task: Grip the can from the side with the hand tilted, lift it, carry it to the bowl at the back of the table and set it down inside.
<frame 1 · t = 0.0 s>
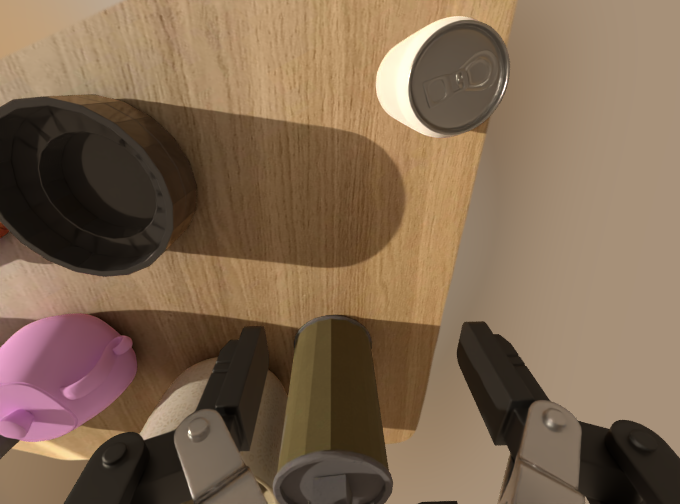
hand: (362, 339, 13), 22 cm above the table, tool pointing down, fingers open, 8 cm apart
teapot: (83, 346, 42), on the table
planter: (237, 381, 46), on the table
can: (410, 82, 28), on the table
bowl: (120, 179, 32), on the table
canister: (333, 344, 43), on the table
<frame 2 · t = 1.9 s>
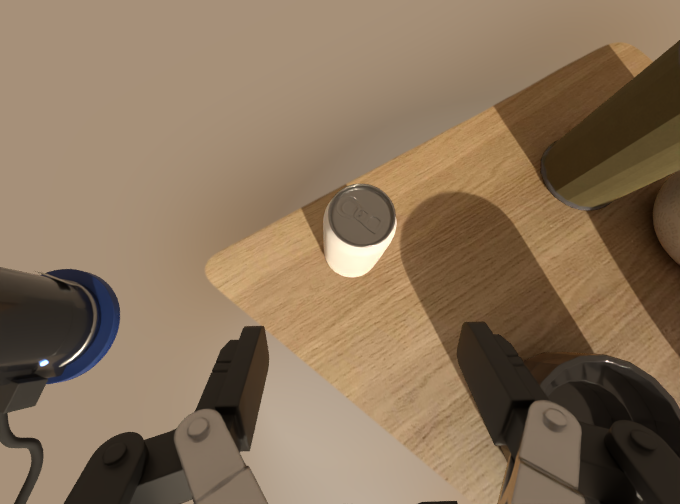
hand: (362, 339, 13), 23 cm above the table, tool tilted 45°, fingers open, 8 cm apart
can: (350, 251, 38), on the table
bowl: (563, 426, 34), on the table
canister: (578, 173, 42), on the table
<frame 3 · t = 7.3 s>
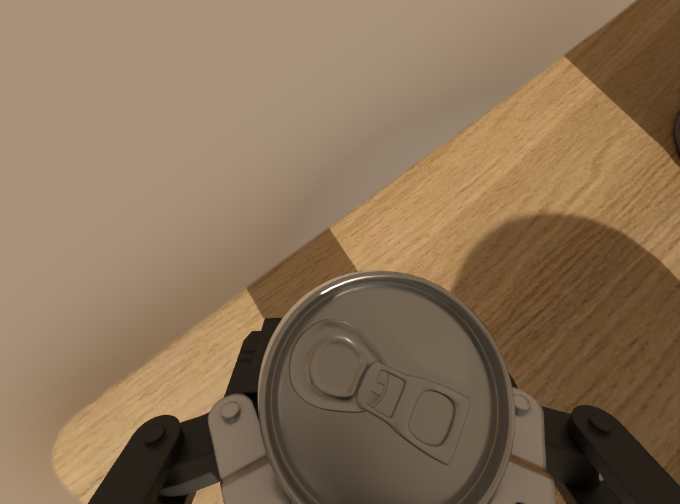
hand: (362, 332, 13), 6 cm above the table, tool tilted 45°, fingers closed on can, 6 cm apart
can: (355, 366, 19), on the table, touching gripper
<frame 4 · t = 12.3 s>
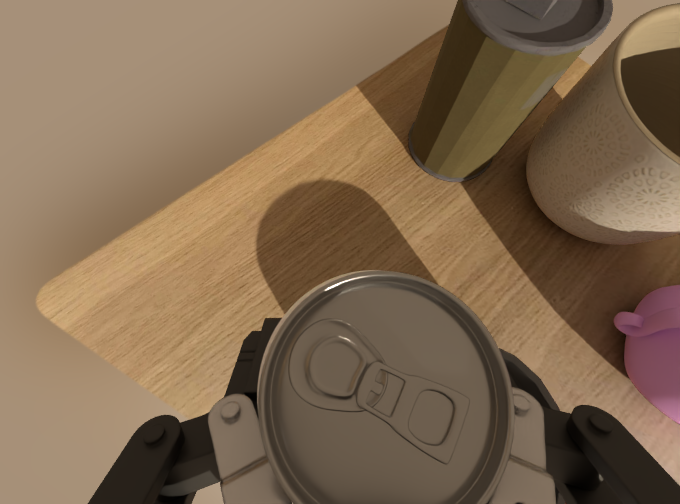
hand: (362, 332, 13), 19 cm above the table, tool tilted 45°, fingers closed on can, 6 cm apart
planter: (576, 190, 37), on the table
can: (355, 365, 19), point 13 cm above the table, touching gripper
bowl: (444, 423, 30), on the table
canister: (451, 144, 39), on the table
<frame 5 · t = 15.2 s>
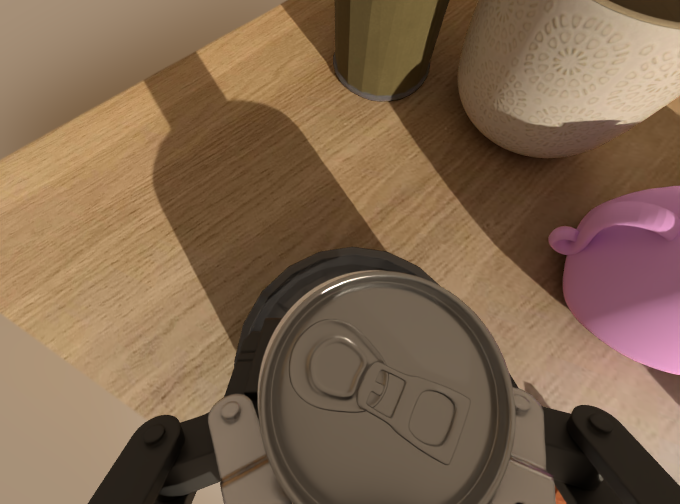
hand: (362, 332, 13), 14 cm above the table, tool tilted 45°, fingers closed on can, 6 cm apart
teapot: (638, 294, 28), on the table
planter: (520, 110, 33), on the table
can: (355, 366, 19), point 8 cm above the table, touching gripper
bowl: (351, 358, 26), on the table
canister: (382, 63, 35), on the table
when the fingers open (6 cm above the table, at t = 17.8 s): can stays where it is, resting on bowl.
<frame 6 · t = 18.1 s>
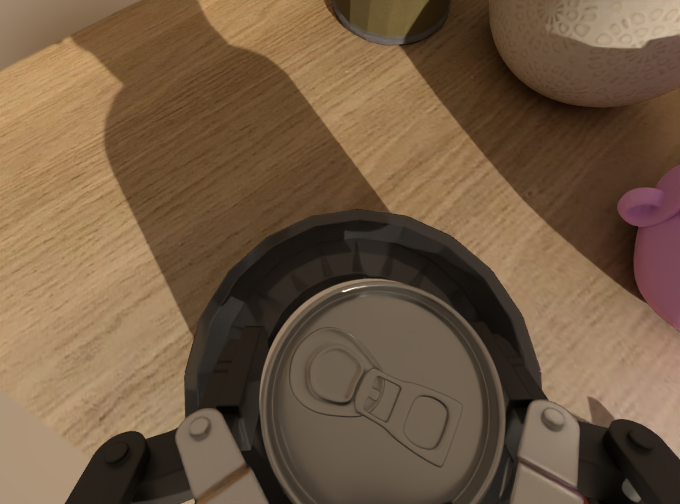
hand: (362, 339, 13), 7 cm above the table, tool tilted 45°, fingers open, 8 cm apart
planter: (563, 56, 27), on the table
can: (355, 368, 19), resting on bowl
bowl: (355, 365, 19), on the table
canister: (391, 2, 29), on the table
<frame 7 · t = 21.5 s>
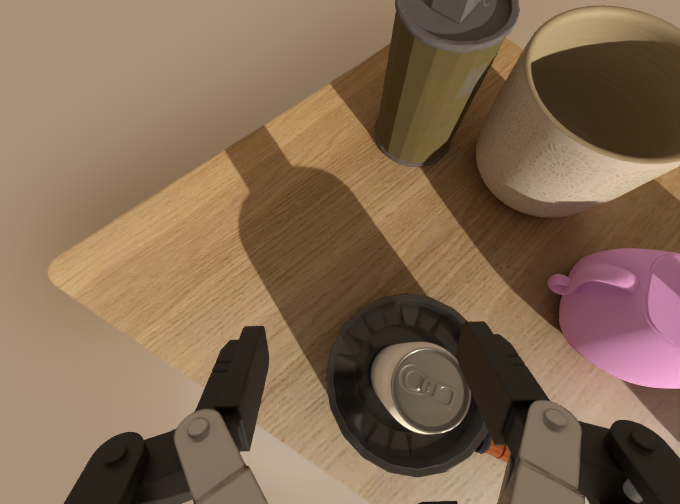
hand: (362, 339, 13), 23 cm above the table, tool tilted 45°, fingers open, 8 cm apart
teapot: (617, 323, 36), on the table
planter: (524, 173, 42), on the table
can: (399, 375, 34), resting on bowl
bowl: (399, 373, 34), on the table
knife: (593, 479, 31), on the table
canister: (413, 133, 43), on the table
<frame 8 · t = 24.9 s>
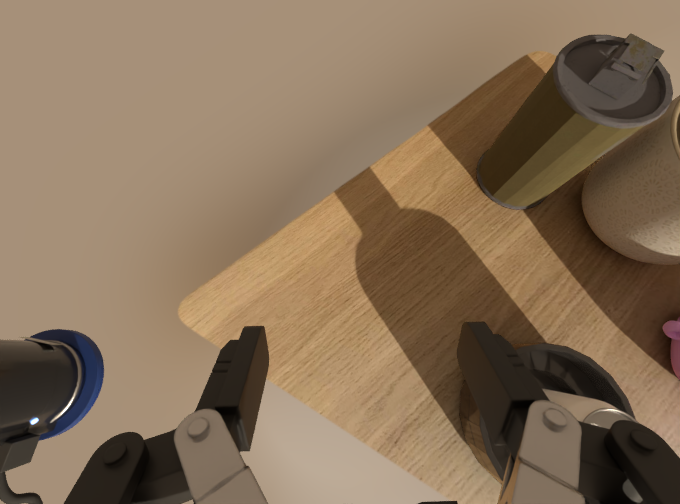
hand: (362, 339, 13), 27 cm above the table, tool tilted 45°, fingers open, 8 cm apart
planter: (622, 216, 44), on the table
can: (526, 415, 36), resting on bowl
bowl: (524, 413, 36), on the table
canister: (512, 176, 45), on the table
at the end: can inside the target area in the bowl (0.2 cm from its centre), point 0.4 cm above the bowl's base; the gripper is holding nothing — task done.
